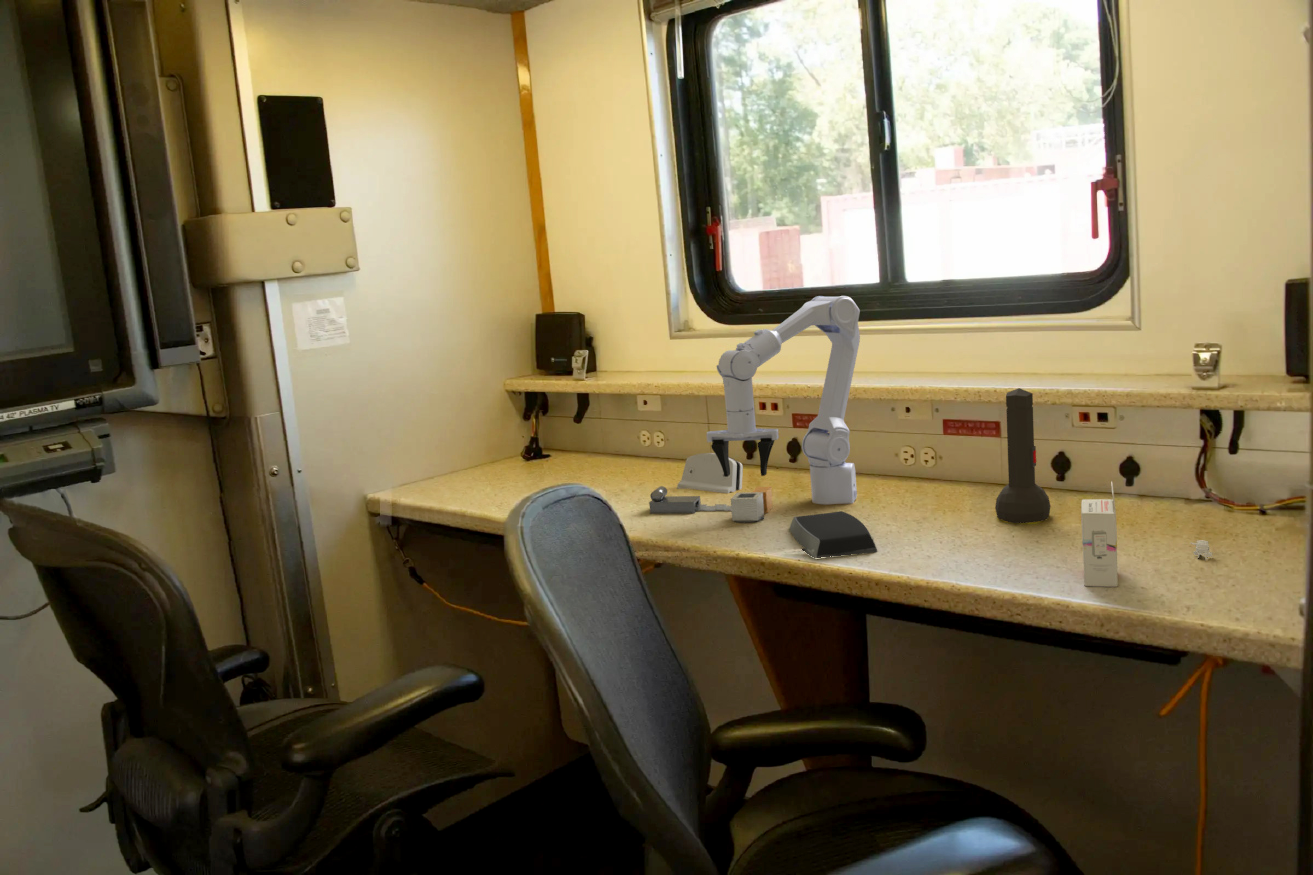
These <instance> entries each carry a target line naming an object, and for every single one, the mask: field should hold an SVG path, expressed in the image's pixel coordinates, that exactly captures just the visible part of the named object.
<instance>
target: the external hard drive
mask: <svg viewBox="0 0 1313 875" xmlns="http://www.w3.org/2000/svg"><path fill="white" fill-rule="evenodd" d="M791 520H792V521H791V523H790V525H789V531H790V534H791V535H792V537H793V539H795V541H796V542H797V543H798V544H799V545H801V546H802V548H801V549H802V550H803V551H805V552H806V553H807V554H809V555H810V556H812V557H814V558H821V557H830V556H831V557H832V556H841V555H849V556H852V555H851V554H857V555H863V554H862V553H864V554H871V553H878V549H877V548H878V547H877V546H876V544H875V542H874V539H873V537H872V536H871V535H872V534H870V531H869V530H868V528H867V526H866V525H864V523H863V522H862V521H861V520H860V519H859V518H857V517H855V516H854V515H852V514H849V513H848V512H846V511H842V510H839V511H834V512H833V511H832V512H827V513H818V514H809V515H799V516H794V517H793V518H792V519H791ZM802 550H801V551H802ZM805 552H804V553H805ZM806 553H805V554H806ZM807 554H806V555H807ZM809 555H808V556H809ZM810 556H809V557H810ZM841 557H842V556H841Z"/></svg>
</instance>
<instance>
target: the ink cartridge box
mask: <svg viewBox="0 0 1313 875" xmlns="http://www.w3.org/2000/svg"><path fill="white" fill-rule="evenodd" d="M1110 483H1111V484H1110V485H1111V494H1112V499H1108V498H1105V499H1104V498H1103V499H1100V498H1099V499H1089V498H1088V499H1081V502H1080V503H1081V504H1080V505H1081V506H1080V521H1081V540H1082V541H1081V542H1082V556H1083V558H1082V559H1083V579H1084V580H1083V581H1084V583H1083V584H1084V587H1109V588H1112V587H1113V588H1116V587H1118V531H1117V510H1116V502H1115V491H1114V484H1113V481H1112V480H1111V482H1110Z"/></svg>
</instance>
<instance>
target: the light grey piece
mask: <svg viewBox="0 0 1313 875" xmlns="http://www.w3.org/2000/svg"><path fill="white" fill-rule="evenodd" d="M729 465H730V475H729V476H728V477H725V476H724V472H723V469H722V466H721V464H720V461H719V459H718V457H717V456H716V454H715V452H713V453H712V452H705V453H697V454H694V455H690V456H689V457H688V456H687V459H685V464H684V466H683V467H684V468H683V471H682V476H681V480H679V482H678V483H677V486H676V489H678V490H679V489H680V490H682V489H685V490H687V489H688V490H695V491H696V490H697V491H704V492H714V493H718V494H719V493H720V494H730V492H731V493H735V492H737V491H740V490H742V489H743V475H744V474H743V471H744V466H743V464H742V463H741V462H740V461H738V460H736V459H734V458H733V457H730V456H729Z"/></svg>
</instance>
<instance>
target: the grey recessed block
mask: <svg viewBox="0 0 1313 875" xmlns="http://www.w3.org/2000/svg"><path fill="white" fill-rule="evenodd" d="M730 506H731V510H732V511H731V519H732V521H733V522H734V521H749V520H759V519H760V518H761V517H762V515H765V513H764V504H763V492H753V491H752V492H749V491H747V492H745V491H744V492H743V491H742V492H736V493H735V494H734V495H733V496H732V497H731V498H730Z"/></svg>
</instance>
